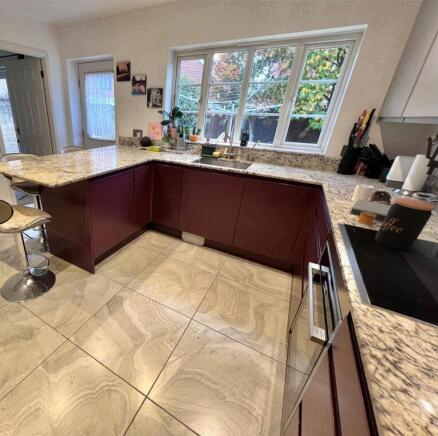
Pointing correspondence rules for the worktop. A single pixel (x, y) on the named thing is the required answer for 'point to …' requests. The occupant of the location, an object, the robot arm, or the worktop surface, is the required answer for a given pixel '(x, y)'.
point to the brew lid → (371, 207)
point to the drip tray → (358, 212)
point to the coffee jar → (403, 223)
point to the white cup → (362, 192)
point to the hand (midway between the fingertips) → (428, 174)
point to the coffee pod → (366, 218)
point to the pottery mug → (381, 196)
